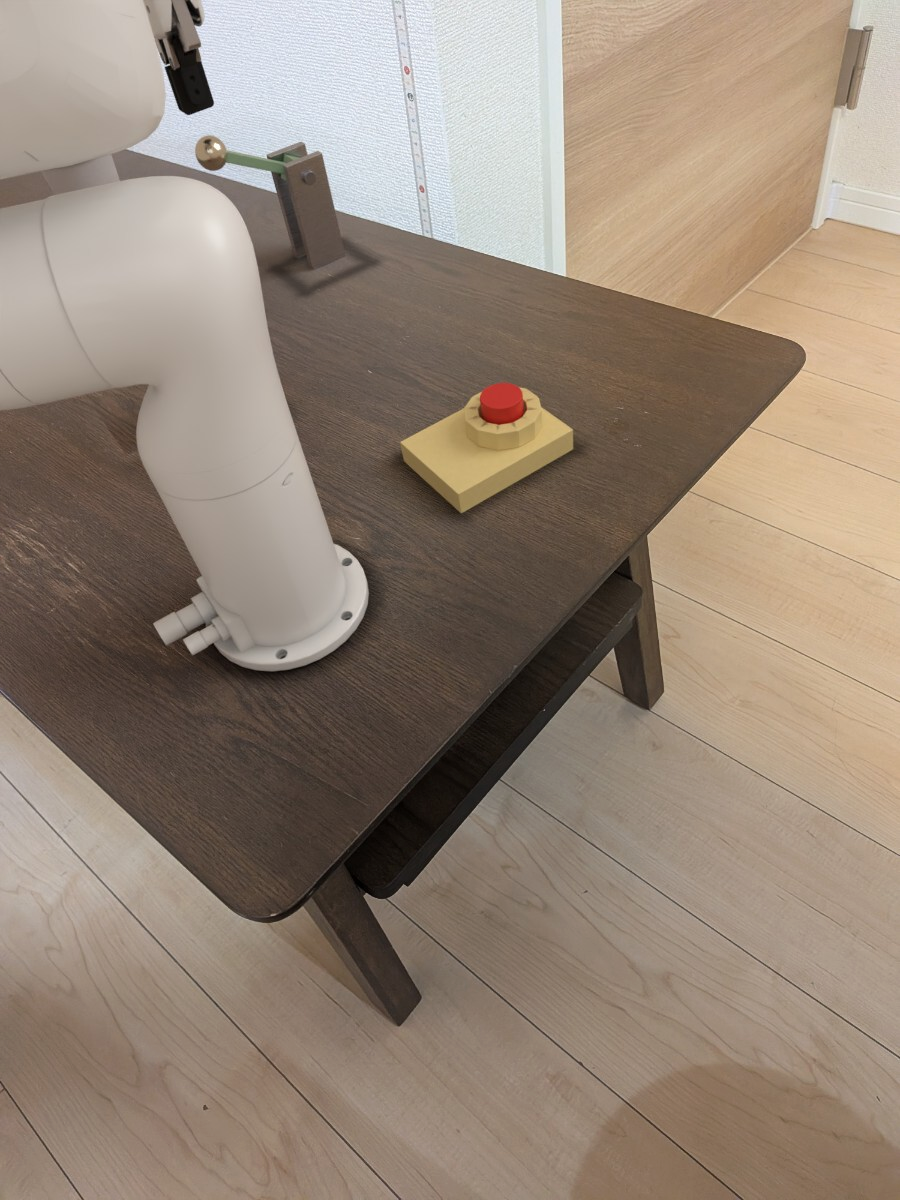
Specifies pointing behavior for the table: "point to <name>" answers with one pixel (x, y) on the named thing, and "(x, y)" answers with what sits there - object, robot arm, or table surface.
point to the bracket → (308, 206)
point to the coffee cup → (82, 175)
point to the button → (501, 403)
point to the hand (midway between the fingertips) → (197, 108)
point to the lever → (234, 157)
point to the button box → (485, 451)
